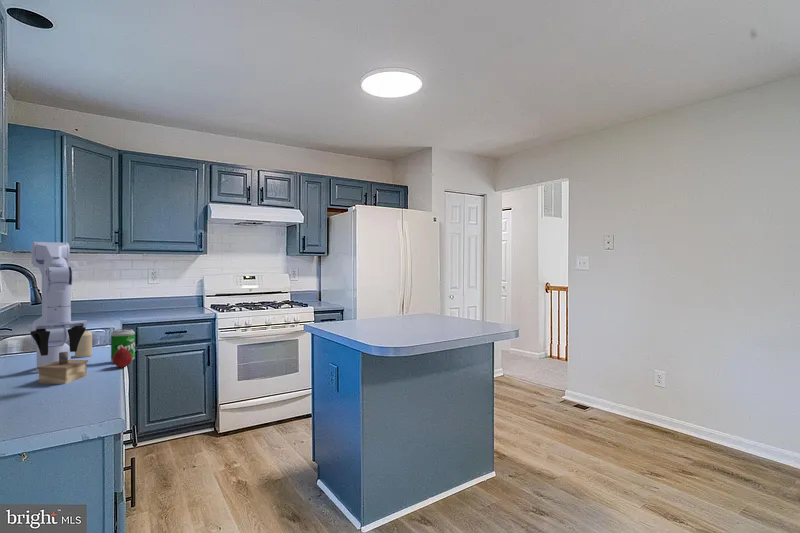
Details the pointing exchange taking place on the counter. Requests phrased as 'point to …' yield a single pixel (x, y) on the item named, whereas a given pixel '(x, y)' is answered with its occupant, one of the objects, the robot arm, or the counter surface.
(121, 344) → the soda can
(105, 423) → the counter surface
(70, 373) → the box
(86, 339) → the candle
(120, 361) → the onion
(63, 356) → the lid
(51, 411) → the counter surface
